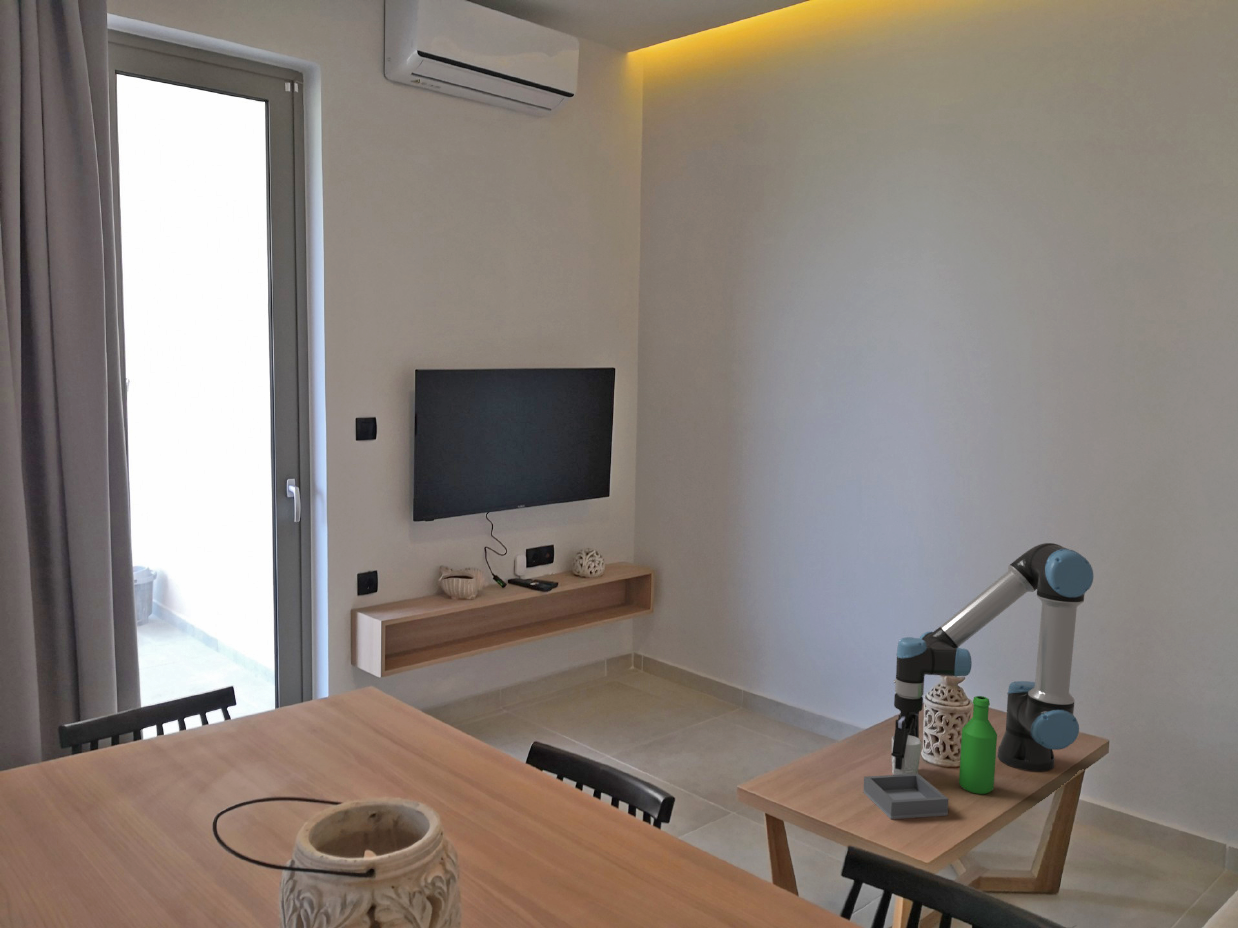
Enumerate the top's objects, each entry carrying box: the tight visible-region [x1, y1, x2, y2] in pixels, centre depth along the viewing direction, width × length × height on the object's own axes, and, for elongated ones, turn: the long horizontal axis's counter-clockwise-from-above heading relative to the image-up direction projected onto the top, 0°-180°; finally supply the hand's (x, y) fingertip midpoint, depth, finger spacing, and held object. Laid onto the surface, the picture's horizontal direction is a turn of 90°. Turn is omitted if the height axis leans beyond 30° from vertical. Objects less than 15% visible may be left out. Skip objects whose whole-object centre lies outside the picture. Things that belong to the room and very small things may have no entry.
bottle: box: [958, 695, 998, 795], centre depth 253 cm, size 9×9×25 cm
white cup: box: [891, 734, 922, 775], centre depth 261 cm, size 8×8×10 cm
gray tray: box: [863, 773, 950, 820], centre depth 243 cm, size 15×15×4 cm
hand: (904, 773), depth 262 cm, fingers open, 9 cm apart
